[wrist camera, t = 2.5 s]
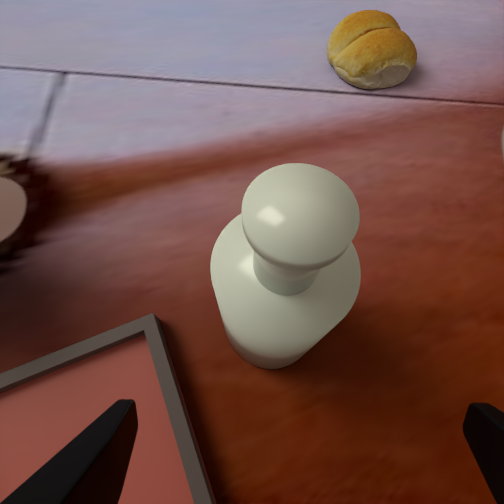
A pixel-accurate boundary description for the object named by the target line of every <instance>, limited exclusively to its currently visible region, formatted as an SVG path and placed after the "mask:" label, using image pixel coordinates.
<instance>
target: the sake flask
mask: <svg viewBox="0 0 504 504" xmlns="http://www.w3.org/2000/svg"><path fill="white" fill-rule="evenodd" d="M359 219H360V214H359V207H358V203H357V201H356V198H355V196H354V195H353V193H352V191H351V190H350V188H349V187H348V186H347V185H346V184H345V183H344V182H343V181H342V180H341V179H340V178H339V177H337V176H336V175H334V174H333V173H331V172H329V171H327V170H325V169H323V168H320V167H317V166H314V165H309V164H301V163H290V164H283V165H279V166H276V167H273V168H270V169H268V170H267V171H265V172H263V173H262V174H260V175H259V176H258V177H257V178H255V179H254V180H253V182H252V183H251V184H250V185H249V187H248V188H247V190H246V192H245V195H244V198H243V202H242V213H241V214H240V215H238V216H237V217H235V218H234V219H233V220H232V221H231V222H230V223H229V224H228V225H227V226H226V227H225V228H224V230H223V231H222V232H221V234H220V235H219V237H218V239H217V241H216V243H215V246H214V249H213V252H212V257H211V279H212V284H213V287H214V291H215V295H216V298H217V302H218V306H219V309H220V313H221V317H222V320H223V324H224V328H225V331H226V335H227V338H228V340H229V343H230V345H231V346H232V348H233V350H234V351H235V352H236V353H237V354H238V355H239V356H240V357H241V358H242V359H243V360H245V361H246V362H248V363H250V364H251V365H254V366H256V367H260V368H264V369H278V368H283V367H286V366H289V365H291V364H292V363H294V362H296V361H297V360H299V359H300V358H301V357H302V356H303V355H304V354H305V353H306V352H307V351H309V350H310V349H311V348H312V347H313V346H314V345H315V344H316V343H317V342H318V341H319V340H321V339H322V338H323V337H324V336H325V335H326V334H327V333H328V332H329V331H330V330H331V329H333V328H334V327H335V326H336V325H337V324H338V323H339V322H340V321H341V320H342V319H343V318H344V317H345V316H346V315H347V313H348V312H349V311H350V309H351V308H352V306H353V304H354V302H355V300H356V297H357V295H358V291H359V287H360V278H361V271H360V263H359V258H358V255H357V252H356V249H355V247H354V245H353V243H352V240H353V238H354V237H355V235H356V232H357V230H358V226H359Z"/></svg>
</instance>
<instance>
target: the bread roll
mask: <svg viewBox="0 0 504 504" xmlns="http://www.w3.org/2000/svg"><path fill="white" fill-rule="evenodd" d="M327 58H328V61H329V63H330V64H331V65H332V66H334V69H335V71H336V73H337V75H338V76H339V77H341V78H342V79H343V80H344V81H346V82H347V83H349V84H351V85H354V86H356V87H359V88H363V89H376V88H387V87H391V86H395V85H397V84H399V83H401V82H403V81H404V80H405V79H406V78H407V77H408V75H409V73H410V72H411V70H412V69H413V68H414V66H415V64H416V60H417V52H416V48H415V45H414V43H413V42H412V40H411V39H410V38H409V36H408V35H407V34H406V33H404V32H403V31H401V29H400V27H399V25H398V23H397V22H396V20H395V19H394V18H393V17H392V16H391V15H389V14H387V13H384V12H381V11H378V10H364V11H359V12H356V13H353V14H350V15H349V16H347V17H346V18H344V19H343V20H342V21H341V22H340V23H339V24H338V25H337V26H336V28H335V29H334V31H333V32H332V34H331V36H330V38H329V41H328V45H327Z"/></svg>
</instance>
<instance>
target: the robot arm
mask: <svg viewBox="0 0 504 504" xmlns="http://www.w3.org/2000/svg"><path fill="white" fill-rule="evenodd" d="M137 431H138V417H137V409H136V403H135V401H134V400H133V399H119V400H117V401H116V402H115V403H114V404H113V405H111V406H110V407H109V408H108V409H107V410H106V411H105V412H103V413H102V414H101V415H100V416H99V417H98V418H97V419H95V420H94V421H93V422H92V423H91V424H90V425H89V426H87V427H86V428H85V429H84V430H83V431H82V432H81V433H79V434H78V435H77V436H76V437H75V438H74V439H73V440H71V441H70V442H69V443H68V444H67V445H66V446H65V447H63V448H62V449H61V450H60V451H59V452H58V453H57V454H55V455H54V456H53V457H52V458H51V459H50V460H49V461H47V462H46V463H45V464H44V465H43V466H42V467H41V468H39V469H38V470H37V471H36V472H35V473H34V474H33V475H31V476H30V477H29V478H28V479H27V480H26V481H25V482H23V483H22V484H21V485H20V486H19V487H18V488H17V489H15V490H14V491H13V492H12V493H11V494H10V495H9V496H7V497H6V498H5V499H4V500H3V501H2V502H1V503H0V504H118V502H119V499H120V496H121V493H122V489H123V486H124V482H125V478H126V474H127V470H128V466H129V462H130V459H131V455H132V451H133V447H134V443H135V439H136V435H137ZM463 433H464V436H465V438H466V440H467V442H468V444H469V446H470V448H471V451H472V453H473V455H474V457H475V459H476V461H477V463H478V465H479V468H480V470H481V472H482V474H483V476H484V478H485V480H486V482H487V485H488V487H489V489H490V491H491V493H492V495H493V497H494V499H495V500H496V502H497V504H504V413H503V412H502V411H500V410H499V409H497V408H495V407H494V406H492V405H490V404H488V403H471V404H470V405H469V407H468V410H467V413H466V416H465V419H464V423H463Z"/></svg>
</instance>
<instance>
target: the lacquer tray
mask: <svg viewBox="0 0 504 504" xmlns="http://www.w3.org/2000/svg"><path fill="white" fill-rule="evenodd" d="M119 399H133V400H134V401H135V403H136V409H137V417H138V431H137V435H136V439H135V443H134V447H133V451H132V455H131V459H130V462H129V466H128V470H127V474H126V478H125V482H124V486H123V489H122V493H121V496H120V499H119V502H118V504H217V503H216V500H215V496H214V493H213V490H212V487H211V484H210V480H209V477H208V474H207V471H206V468H205V464H204V461H203V458H202V455H201V452H200V448H199V445H198V442H197V439H196V436H195V432H194V429H193V426H192V423H191V420H190V416H189V413H188V410H187V407H186V404H185V401H184V397H183V394H182V391H181V388H180V385H179V381H178V378H177V375H176V372H175V369H174V365H173V362H172V359H171V356H170V353H169V349H168V346H167V343H166V340H165V337H164V333H163V330H162V327H161V324H160V321H159V318H158V317H157V316H156V315H155V314H154V313H151V314H149V315H146V316H144V317H141V318H139V319H136V320H134V321H131V322H129V323H126V324H124V325H121V326H119V327H116V328H114V329H111V330H109V331H106V332H104V333H101V334H99V335H96V336H94V337H91V338H88V339H86V340H83V341H81V342H78V343H76V344H73V345H71V346H68V347H66V348H63V349H61V350H58V351H56V352H53V353H51V354H48V355H46V356H43V357H41V358H38V359H36V360H33V361H31V362H28V363H26V364H23V365H21V366H18V367H16V368H13V369H11V370H8V371H6V372H3V373H1V374H0V503H1V502H2V501H3V500H4V499H5V498H6V497H7V496H9V495H10V494H11V493H12V492H13V491H14V490H15V489H17V488H18V487H19V486H20V485H21V484H22V483H23V482H25V481H26V480H27V479H28V478H29V477H30V476H31V475H33V474H34V473H35V472H36V471H37V470H38V469H39V468H41V467H42V466H43V465H44V464H45V463H46V462H47V461H49V460H50V459H51V458H52V457H53V456H54V455H55V454H57V453H58V452H59V451H60V450H61V449H62V448H63V447H65V446H66V445H67V444H68V443H69V442H70V441H71V440H73V439H74V438H75V437H76V436H77V435H78V434H79V433H81V432H82V431H83V430H84V429H85V428H86V427H87V426H89V425H90V424H91V423H92V422H93V421H94V420H95V419H97V418H98V417H99V416H100V415H101V414H102V413H103V412H105V411H106V410H107V409H108V408H109V407H110V406H111V405H113V404H114V403H115V402H116V401H117V400H119Z"/></svg>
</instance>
